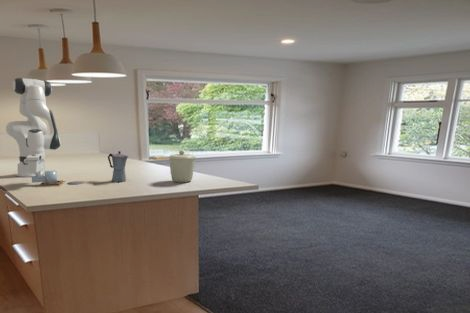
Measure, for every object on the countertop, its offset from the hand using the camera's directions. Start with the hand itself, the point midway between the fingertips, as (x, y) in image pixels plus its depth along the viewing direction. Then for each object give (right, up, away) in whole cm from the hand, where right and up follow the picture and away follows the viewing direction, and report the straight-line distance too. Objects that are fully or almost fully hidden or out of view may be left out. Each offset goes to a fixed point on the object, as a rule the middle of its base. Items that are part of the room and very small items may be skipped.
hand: (38, 178), depth 201 cm
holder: (+7, -4, +2) cm, 8 cm away
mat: (+21, -4, +6) cm, 22 cm away
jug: (+4, -4, 0) cm, 6 cm away
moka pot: (+43, -3, +18) cm, 47 cm away
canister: (+85, -3, +19) cm, 87 cm away
